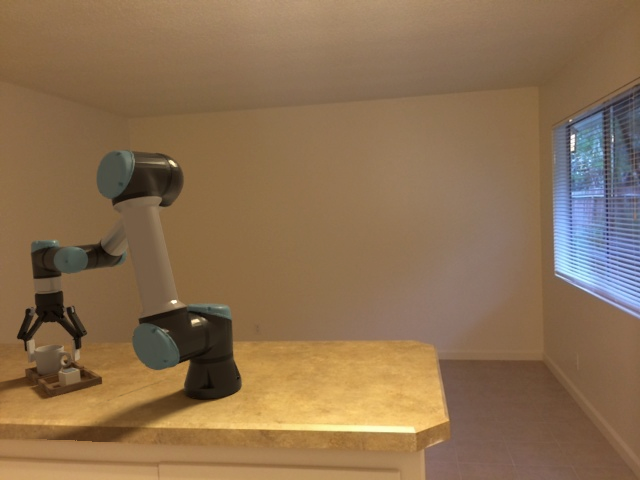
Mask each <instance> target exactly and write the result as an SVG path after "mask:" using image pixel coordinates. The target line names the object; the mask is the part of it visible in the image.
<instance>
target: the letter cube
mask: <svg viewBox="0 0 640 480" xmlns="http://www.w3.org/2000/svg"><path fill="white" fill-rule="evenodd" d="M58 373H59V385H60V386H65V385H69V384H73V383H76V382H80V381H81V380H80V370H78V369H75V368H70V369H66V370H63V371H60V372H58Z"/></svg>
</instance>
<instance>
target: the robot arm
mask: <svg viewBox="0 0 640 480" xmlns="http://www.w3.org/2000/svg"><path fill="white" fill-rule="evenodd" d="M95 177H96V186H97V189H98V192H99V193H100V194H101V196H102V197H104V198H106V199H108V200H111V203H112V205H111V206H112V209H113V210H114V211H116V212H118V213H120V216H119V217H118V219H117V220H116V221H115V222H114V223H113V224H112V226H111V227H110V228H109V230H108V231H107V232H106V233H105V234H104V236H103V237H102V238H101V239H100V240H99V242H97V243H91V244H89V243H88V244H81V245H71V246H69V245H68V246H60V242H59V240H58V239H40V240H38V239H37V240H33V241H32V242H31V243H30V258H31V259H30V260H31V269H32V277H33V279H32V280H33V292H35V294H34V305H35V306H36V307H35V308H34V307H33V306H30V307H28V308H26V309H25V312H24V314H25V315H24V318H23V321H22V323H21V326H20V328H19V330H18V333H17V335H16V339H17V340H21V341H23V345H24V351H25V352H27V363H28V364H32V363H34V362H36V360H35V355H34V350H35V349H36V344H35V343H36V342H35V339H34V338H33V337H34V335H36V332H37V331H38V330H39V329H40V327H41V326H42V324H44V323H46V324H47V323H57V324H58V325H60V326H61V327H62V328H63V329H64V330H65V331H66V332H67V333H68V334H69V335H70V336H71V337H72V339H71V341H70V343H71V354H72V355H71V358H72V360H73V361H76V362H77V361H78V360H80V359H81V358H80V357H81V356H80V355H81V354H80V350H81V348H82V338H83V337H85V336H86V335H88V331H87V330H86V328H85V326H84V325H83V323H82V321H81V318H79V316H78V314H77V313H76V308H75V305H70V306H64V291H62V289H63V277H62V273H63V274H78V273H80V272H83V271H88V270H95V269H102V268H103V269H104V268H115V266H116V267H117V266H121V265H122V264H125V262H126V260H127V259H126V258H127V257H128V251H127V250H128V249H129V254H130V258H131V262H132V267H133V272H134V275H135V280H136V284H137V288H138V289H137V290H138V293H139V297H140V302H141V306H142V310H141V312H140V313H139V314H138V316H137V320H138V325H137V326H136V328H135V329H134V330H133V332H132V334H133V336H132V337H131V341H132V342H131V343H132V348H133V350H134V351H133V352H134V353H135V356H136V358H137V359H138V360H139V361H140V363H141V364H143V365H144V366H145V367H146V368H148V369H150V370H153V371H162V370H166V369H170V368H174V367H176V366H177V365H179V364H182V363H185V362H188V361H189V363H188V364H189V365H188V368H187V372H186V376H185V380H184V383H183V387H184V389H183V390H184V391H183V392H184V394H185V396H187V397H189V398H193V399H197V400H198V399H199V400H211V399H217V398H218V399H220V398H222V397H226V396H230V395H233V394H235V393H236V392H238V391H239V390H241V388H242V386H243V385H242V383H243V381H242V376H241V374H240V373H241V372H240V371H239V368H238V366H237V363H236V361H235V358H234V357H235V355H234V336H233V318H232V312H231V311H232V310H231V308H230V307H229V305H227V304H222V303H208V302H207V303H205V302H203V303H189V304H187V305H186V304H185V303H183V302H182V301H180V300H179V295H178V291H177V286H176V283H175V277H174V275H173V269H172V266H171V261H170V257H169V253H168V249H167V244H166V240H165V239H166V238H165V235H164V231H163V227H162V223H161V217H160V213H161V211H162V210H163V209H164V208H169V207H171V206H172V205H173V203H174V202H175V201H176V200H177V199H178V198H179V196H180V195H181V193H182V190H183V187H184V183H185V177H184V172H183V170H182V167H181V166H180V164H179V163H178V161H177V160H176V159H174V157H171V156H170V155H168V154H165V153H159V152H146V151H145V152H144V151H138V150H137V151H133V150H129V149H124V150H111V151H108V152H107V153H106V154H105V155H104V156H102V158H101V160H100V162H99V165H98V167H97V171H96V176H95ZM64 313H65V314H66V315H67V316H66V315H65V314H64ZM34 315H37V317H36V319H35V320H34V323H33V324H32V321H33V319H34ZM68 319H69V320H68ZM31 324H32V325H31ZM30 326H31V327H30Z"/></svg>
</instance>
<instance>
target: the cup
mask: <svg viewBox="0 0 640 480" xmlns="http://www.w3.org/2000/svg"><path fill="white" fill-rule="evenodd" d="M71 354H72V353H70V352H68V351H65V346H64V345H63V344H48V345H43V346H42V345H41V346H38V347H35V350H34V355H35V364H36V366H37V371H38V374H39V375H41V376H45V375H49V374H53V373H58V372H60V371H62V369H63V367H68V366H69V365H70V364H71V361H72V360H73V357H72V355H71ZM64 356H65V357H66V358H67V359H68V362H67V364H65V363H64V361H63V360H64ZM67 359H66V360H67ZM36 366H35V367H36Z"/></svg>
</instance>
